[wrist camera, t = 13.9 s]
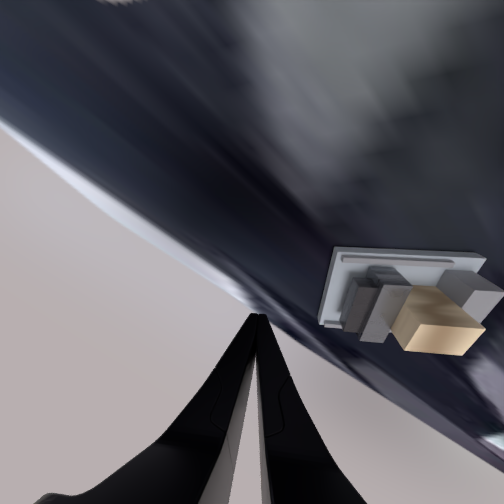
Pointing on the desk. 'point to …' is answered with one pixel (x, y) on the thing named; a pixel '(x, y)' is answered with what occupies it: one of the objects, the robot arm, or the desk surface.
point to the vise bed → (411, 278)
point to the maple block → (434, 323)
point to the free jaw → (374, 303)
